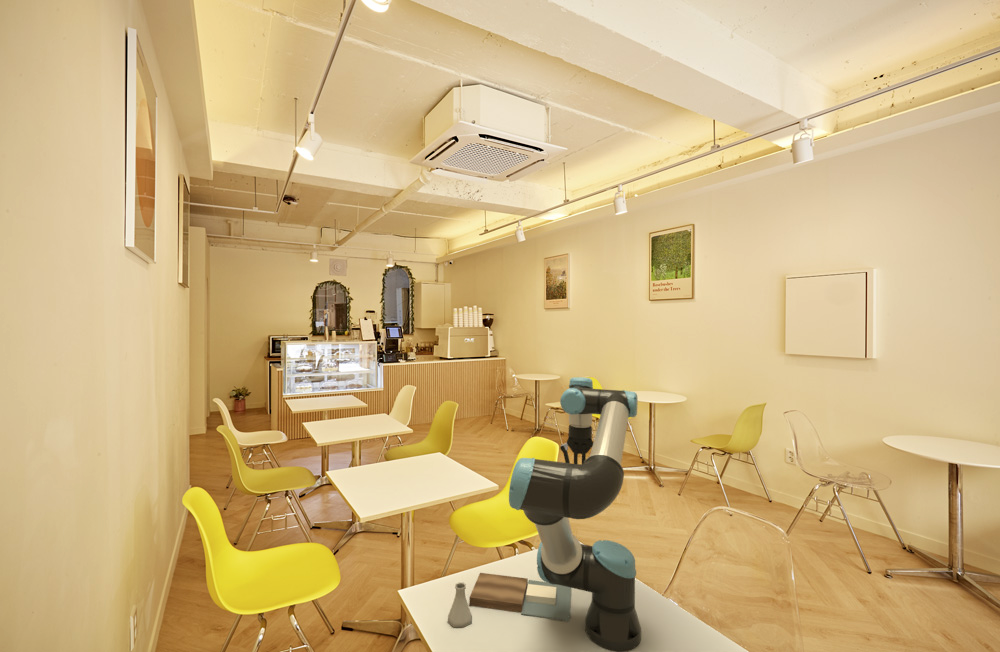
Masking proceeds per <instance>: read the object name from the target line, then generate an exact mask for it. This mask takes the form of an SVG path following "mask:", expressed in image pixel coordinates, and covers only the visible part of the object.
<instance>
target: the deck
mask: <svg viewBox="0 0 1000 652" xmlns="http://www.w3.org/2000/svg"><path fill="white" fill-rule="evenodd" d="M528 581H529V579H528V578H525V577H519V576H510V575H503V574H494V573H486V572H479V574H478V577H477V578H476V581H475V583H474V586H473V588H472V590H471V593H470V595H469V600H468V601H469V602H468V606H472V607H478V608H485V609H493V610H498V611H507V612H515V613H520V614H521V612H522V608H523V603H524V599H525V594H526V590H527V585H528Z"/></svg>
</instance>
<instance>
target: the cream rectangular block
mask: <svg viewBox="0 0 1000 652" xmlns="http://www.w3.org/2000/svg"><path fill="white" fill-rule="evenodd" d="M526 601H527V602H535V603H543V604H551V605H555V603H556V587H550V586H542V585H533V584H528V587H527V592H526Z"/></svg>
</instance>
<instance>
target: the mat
mask: <svg viewBox="0 0 1000 652" xmlns="http://www.w3.org/2000/svg"><path fill="white" fill-rule="evenodd" d="M528 584H533V585H542V586H550V587H556V603H555V605H551V604H543V603H535V602H527V601H526V594H525V599H524V603H523V608H522V612H521V613H520V615H521V616H527V617H534V618H541V619H548V620H549V619H550V620H556V621H562V622H563V621H564V622H570V619H571V618H570V615H571V595H572V594H571V593H572V588H570V587H566V586H561V585H557V584H555V585H553V584H550V583H548V582H545V581H543V580H542V581H541V580H533V579H528ZM527 587H528V585H527ZM526 592H527V590H526Z"/></svg>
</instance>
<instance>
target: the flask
mask: <svg viewBox="0 0 1000 652" xmlns="http://www.w3.org/2000/svg"><path fill="white" fill-rule="evenodd" d="M454 589H455V595H454V599H453V602H452V605H451V607H450V610H449V612H448V616H447V623H448V624H450V626H451V627H453V628H464V627H466V626H468V625H470V624H472V622H473V621H472V620H473V615H472V613H471V609H470V607H469V602H468V600H467V598H466V589H467V584H466V583H465V582H457V583H455V584H454Z"/></svg>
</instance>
